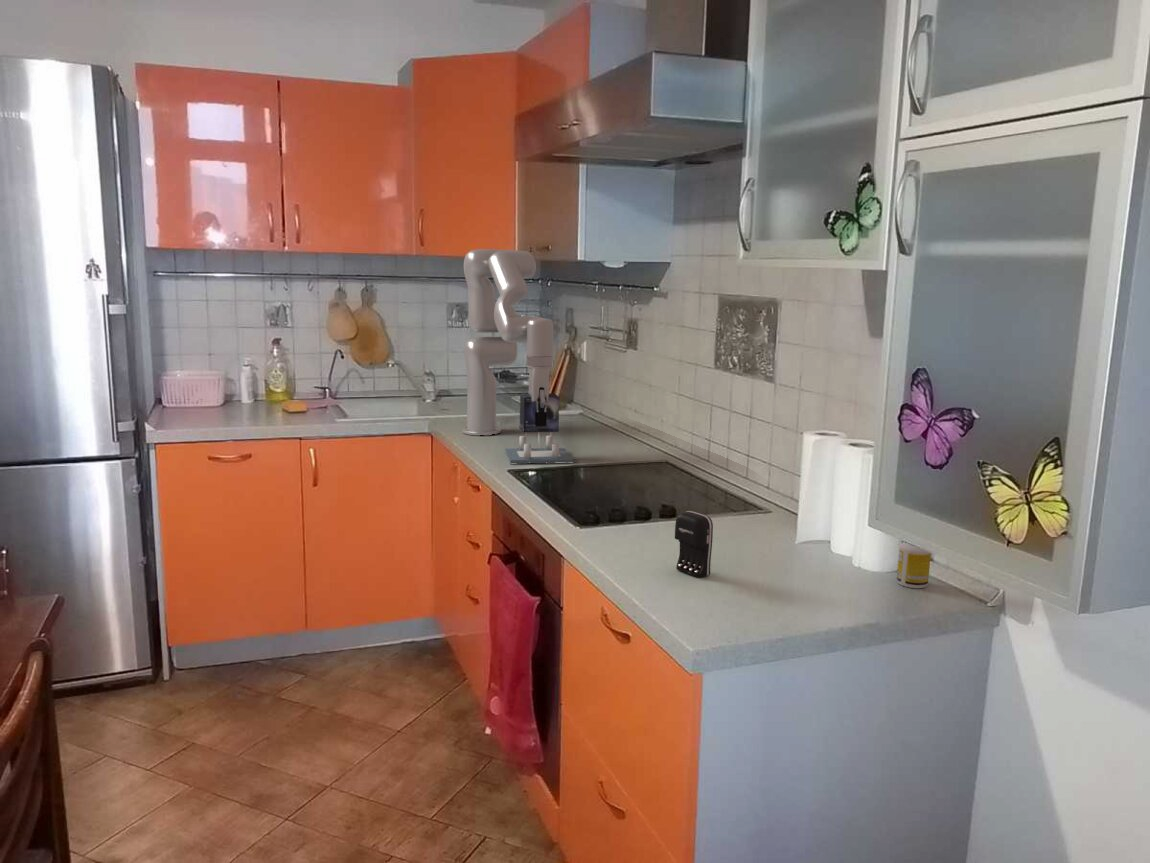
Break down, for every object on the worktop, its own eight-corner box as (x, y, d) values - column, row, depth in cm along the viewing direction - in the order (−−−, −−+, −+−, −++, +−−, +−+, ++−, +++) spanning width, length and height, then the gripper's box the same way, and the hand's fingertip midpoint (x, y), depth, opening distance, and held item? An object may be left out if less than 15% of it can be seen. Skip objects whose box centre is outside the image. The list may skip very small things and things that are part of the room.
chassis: (505, 452, 271) (505, 435, 270) (564, 451, 274) (565, 434, 273) (510, 464, 255) (510, 446, 254) (573, 463, 258) (573, 445, 257)
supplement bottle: (934, 586, 165) (939, 534, 163) (914, 591, 162) (919, 538, 161) (910, 577, 170) (914, 526, 168) (889, 581, 167) (894, 530, 165)
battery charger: (670, 570, 171) (672, 511, 169) (684, 566, 173) (686, 508, 171) (697, 580, 166) (700, 520, 163) (711, 576, 168) (714, 516, 166)
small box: (523, 433, 258) (523, 396, 257) (518, 429, 265) (519, 393, 263) (559, 432, 261) (560, 396, 259) (554, 428, 267) (554, 392, 266)
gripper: (523, 358, 267) (523, 418, 270) (530, 365, 250) (529, 429, 254) (548, 359, 268) (547, 418, 272) (557, 365, 252) (556, 428, 255)
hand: (539, 423), depth 263 cm, fingers closed on small box, 6 cm apart
